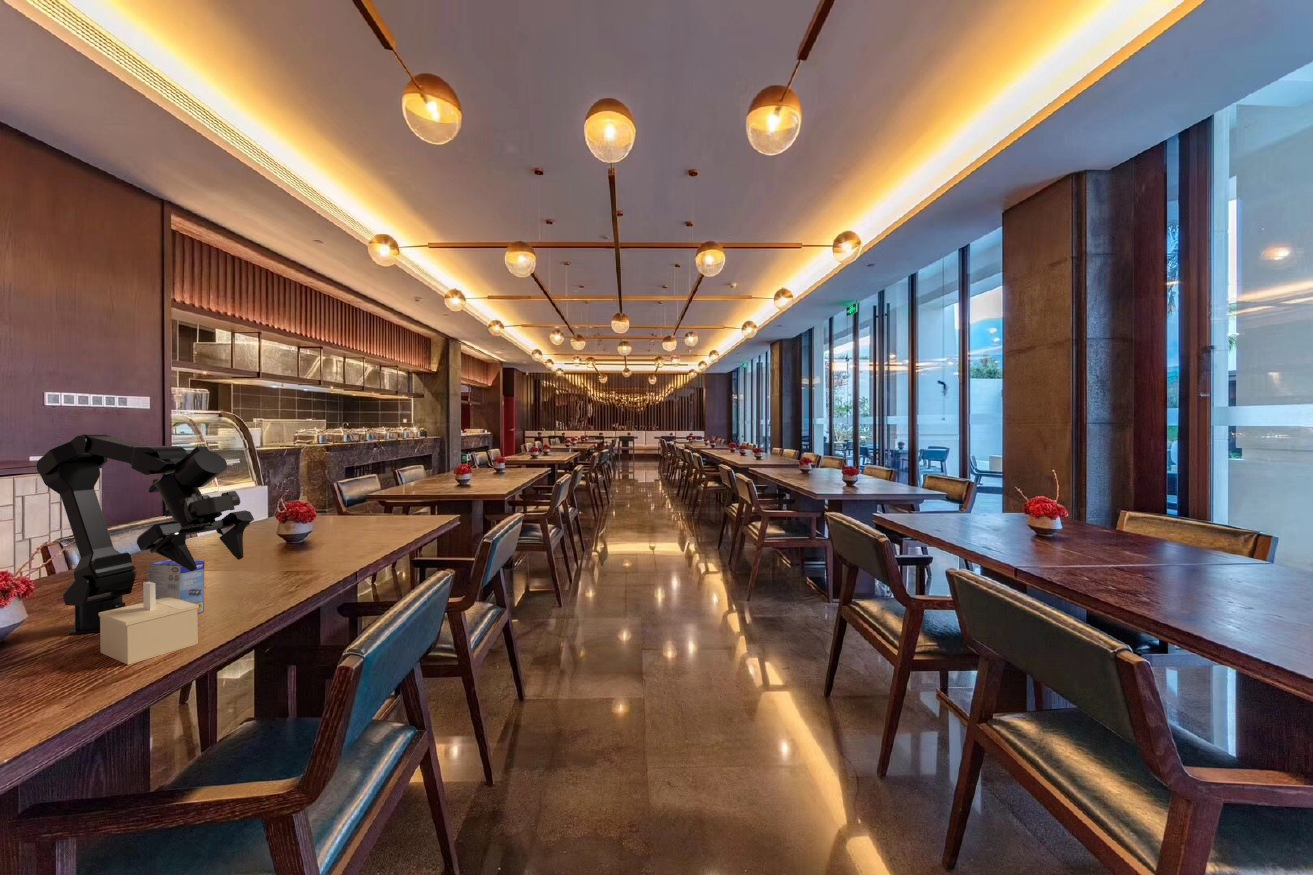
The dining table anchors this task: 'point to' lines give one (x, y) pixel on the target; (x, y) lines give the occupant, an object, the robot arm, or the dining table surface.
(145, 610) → the carton lid
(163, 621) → the carton
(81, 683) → the dining table surface
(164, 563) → the ink cartridge box
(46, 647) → the dining table surface
